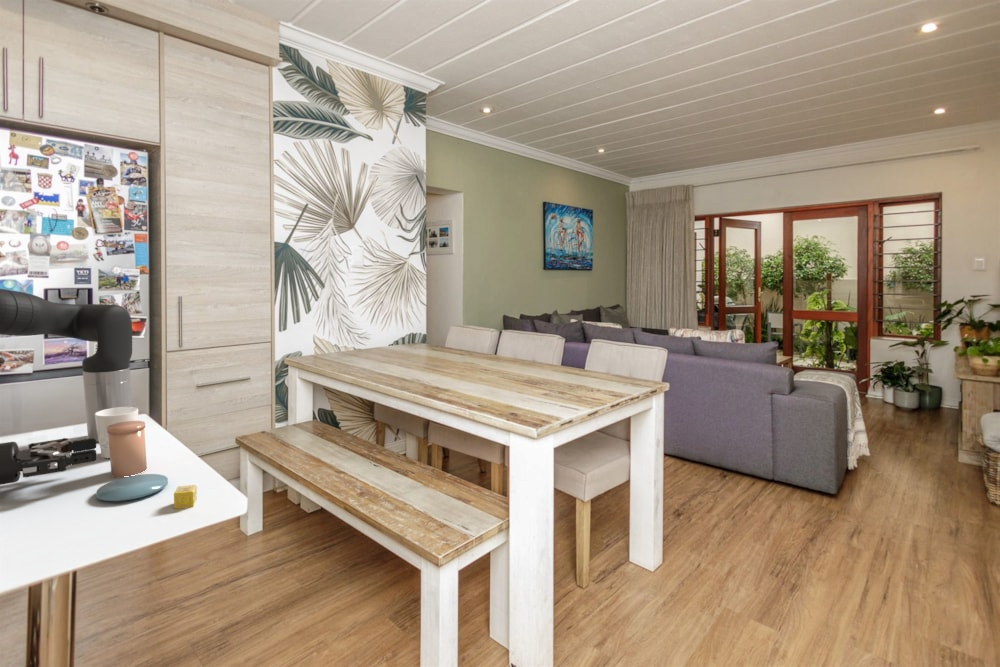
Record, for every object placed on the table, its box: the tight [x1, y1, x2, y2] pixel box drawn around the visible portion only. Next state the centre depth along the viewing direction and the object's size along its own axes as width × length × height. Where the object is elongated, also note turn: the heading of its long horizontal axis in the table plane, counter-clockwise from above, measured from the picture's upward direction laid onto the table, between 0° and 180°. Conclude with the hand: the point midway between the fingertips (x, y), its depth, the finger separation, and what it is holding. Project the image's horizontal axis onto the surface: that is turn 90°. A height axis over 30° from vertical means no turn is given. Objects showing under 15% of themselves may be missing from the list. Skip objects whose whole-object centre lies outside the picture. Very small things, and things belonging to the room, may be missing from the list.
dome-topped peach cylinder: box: [107, 420, 148, 478], centre depth 105 cm, size 6×6×10 cm
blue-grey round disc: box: [95, 473, 169, 502], centre depth 96 cm, size 11×11×1 cm
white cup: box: [95, 406, 139, 459], centre depth 115 cm, size 8×8×10 cm
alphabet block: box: [173, 484, 198, 510], centre depth 91 cm, size 3×3×3 cm
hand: (96, 448), depth 102 cm, fingers open, 8 cm apart
